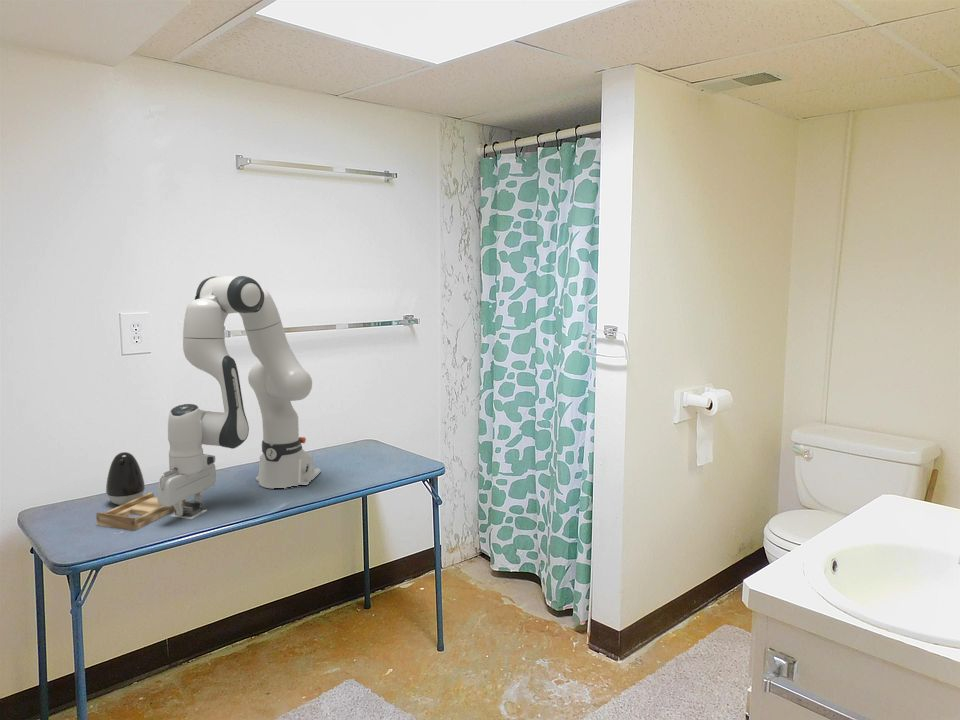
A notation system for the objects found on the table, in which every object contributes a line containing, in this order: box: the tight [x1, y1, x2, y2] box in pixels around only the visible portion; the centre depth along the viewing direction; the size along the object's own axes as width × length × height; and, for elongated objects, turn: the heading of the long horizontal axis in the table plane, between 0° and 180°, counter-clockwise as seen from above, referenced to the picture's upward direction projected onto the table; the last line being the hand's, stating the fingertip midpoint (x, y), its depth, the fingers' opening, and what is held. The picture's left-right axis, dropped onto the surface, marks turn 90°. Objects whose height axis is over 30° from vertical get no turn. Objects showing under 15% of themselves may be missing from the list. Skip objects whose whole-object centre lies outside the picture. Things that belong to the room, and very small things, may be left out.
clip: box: [174, 500, 203, 517], centre depth 196 cm, size 5×5×2 cm
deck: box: [95, 491, 187, 531], centre depth 195 cm, size 20×12×4 cm, turn 164°
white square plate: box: [170, 509, 208, 520], centre depth 197 cm, size 7×7×1 cm
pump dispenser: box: [105, 451, 146, 506], centre depth 206 cm, size 10×10×15 cm
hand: (188, 511), depth 196 cm, fingers closed on clip, 5 cm apart
